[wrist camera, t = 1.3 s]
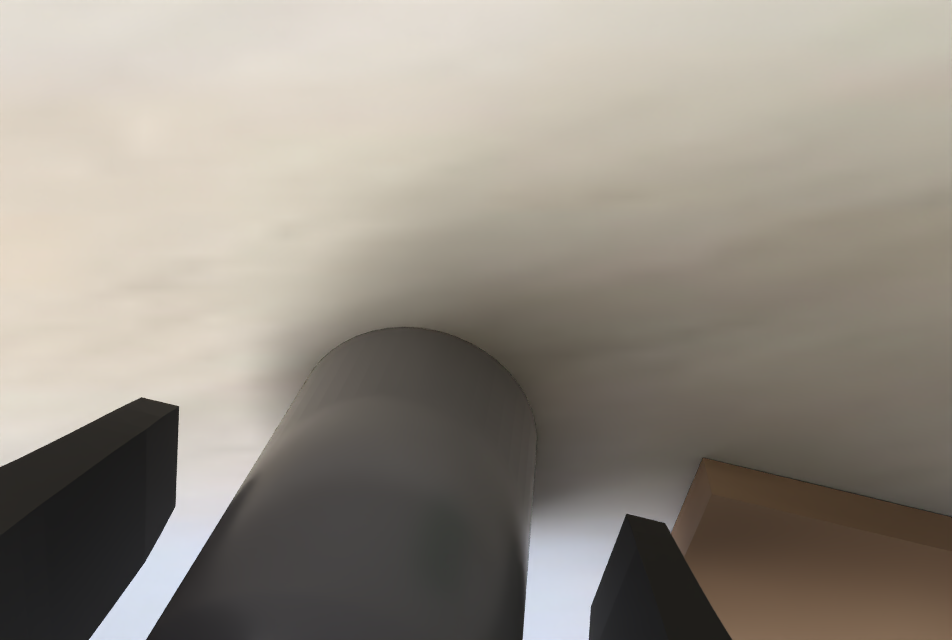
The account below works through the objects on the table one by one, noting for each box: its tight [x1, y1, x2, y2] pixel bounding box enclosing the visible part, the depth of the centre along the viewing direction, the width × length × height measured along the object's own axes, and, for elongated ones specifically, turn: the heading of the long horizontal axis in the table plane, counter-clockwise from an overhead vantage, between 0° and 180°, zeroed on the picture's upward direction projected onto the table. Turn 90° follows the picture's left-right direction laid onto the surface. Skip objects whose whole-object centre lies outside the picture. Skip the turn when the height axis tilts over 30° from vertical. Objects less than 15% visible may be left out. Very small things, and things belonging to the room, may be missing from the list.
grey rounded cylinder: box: [146, 327, 537, 640], centre depth 11 cm, size 4×4×6 cm
